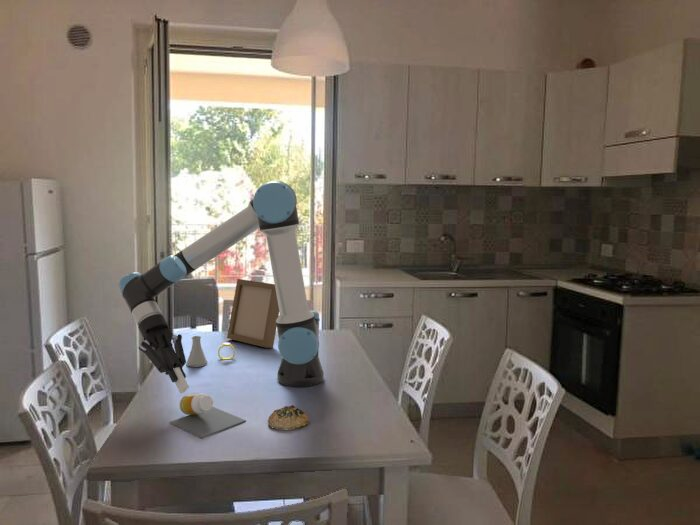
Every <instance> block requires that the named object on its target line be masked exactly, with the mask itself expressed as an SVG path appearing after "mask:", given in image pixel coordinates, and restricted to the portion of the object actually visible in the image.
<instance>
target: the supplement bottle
mask: <svg viewBox="0 0 700 525" xmlns="http://www.w3.org/2000/svg"><path fill="white" fill-rule="evenodd" d="M212 407H214V400H213V398H212V397H211V396H210V395H207V394H205V393H201V392H200V393H191V394H190V393H189V394H186V395H184V396H182V397H181V399H180V401H179V409H180V412H182V413H183V414H184V415H186V416H188V415H192V414H203V413H205V412H207V411H209V410H210V409H211V408H212Z"/></svg>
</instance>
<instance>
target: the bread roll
mask: <svg viewBox="0 0 700 525" xmlns="http://www.w3.org/2000/svg"><path fill="white" fill-rule="evenodd" d="M267 423H268V426H269V427H270V428H271V427H273V428H276V429H283V430H282V431H286V430H285V429H294V430H297V429H296V428H298V429H300V428H303V427H305V425H306V424H307V425H308V424H309V423H310V421H309V417H308V415H307V413H306V412H305V411H304V410H303V409H300V408H299V407H298V406H295V405H294V404H291V405H290V406H287V405H285V406H284V407H282V408H277V409H275V410H273V412H272V413H271V414H270V415H269V417H268V419H267ZM307 425H306V426H307ZM302 426H303V427H302ZM299 427H300V428H299ZM273 428H272V429H273ZM276 429H275V430H276Z"/></svg>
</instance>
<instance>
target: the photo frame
mask: <svg viewBox="0 0 700 525" xmlns="http://www.w3.org/2000/svg"><path fill="white" fill-rule="evenodd" d="M279 315H280V312H279V306H278V301H277V295H276V289H275V283H268V282H262V281H256V280H249V279H242V278H237V279H236V286H235V290H234V297H233V302H232V308H231V313H230V319H229V323H228V329H227V336H226V338H227V339H229V340H234V341H236V342H243V343H245V344H250V345H252V346H253V345H254V346H259V347H262V348H272V349H273V348H274V344H275V340H276V339H275V338H276V333H277V332H276V331H277V324H276V319H277V318H278V317H279Z"/></svg>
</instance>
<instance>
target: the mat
mask: <svg viewBox="0 0 700 525" xmlns="http://www.w3.org/2000/svg"><path fill="white" fill-rule="evenodd" d="M245 422H247V420H246V419H244V418H242V417H239V416H236V415H235V414H232V413H229V412H227V411H224V410H222V409H219V408H217V407H215V406H212V408H211V409H210V410H209V411H207V412H205V413H203V414H192V415H185V416H182V417H180V418H176V419H174V420H171V421H169V424H170V423H171V425H173V426H175V427H177V428H178V429H181V430H183V429H184V431H185V430H186V432H187V431H188V432H187V433H189V432H190V433H189V434H191V433H192V435H193V436H196V437H198V438H200V439H205V438H207V437H210V436H213V435H215V434H217V432H218V433H220V432H223V431H225V430H229V429H230V427H231V428H233V427H235V426H238V425H241V424H243V423H245ZM222 430H223V431H222ZM214 433H215V434H214ZM212 434H213V435H212ZM209 435H210V436H209ZM204 437H205V438H204Z"/></svg>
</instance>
